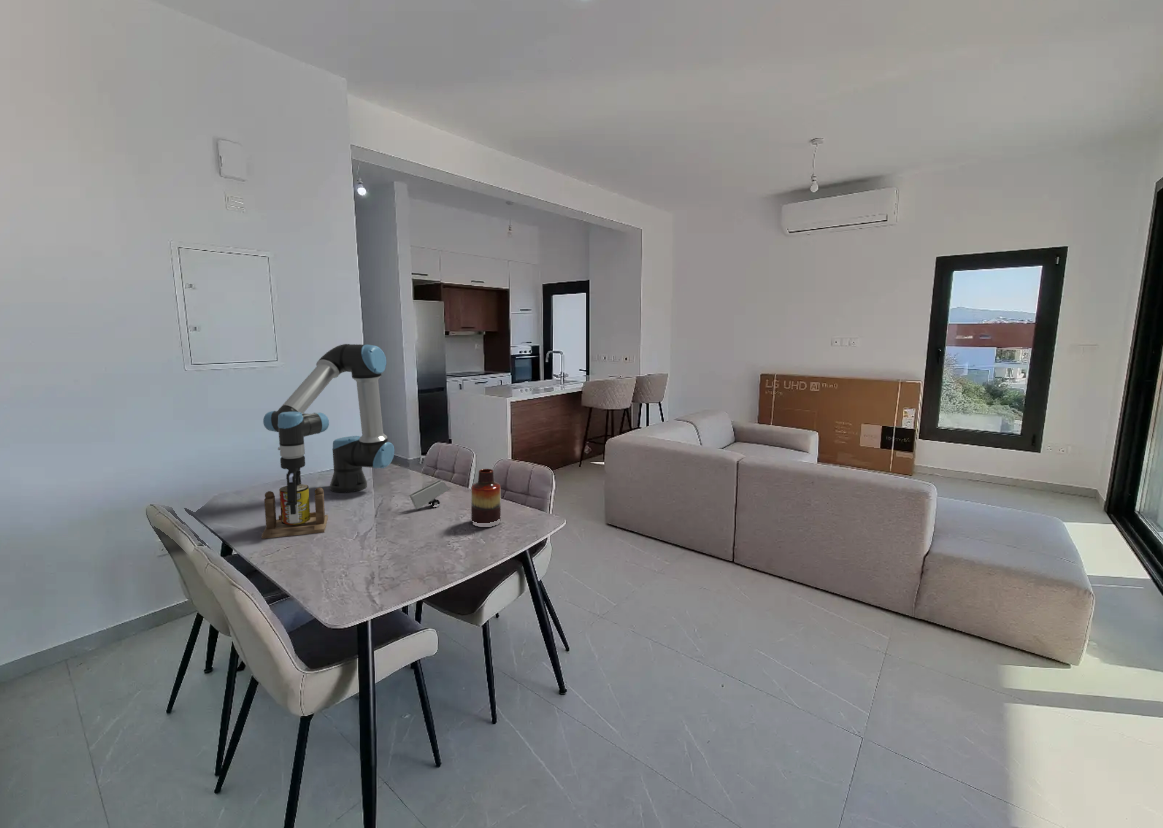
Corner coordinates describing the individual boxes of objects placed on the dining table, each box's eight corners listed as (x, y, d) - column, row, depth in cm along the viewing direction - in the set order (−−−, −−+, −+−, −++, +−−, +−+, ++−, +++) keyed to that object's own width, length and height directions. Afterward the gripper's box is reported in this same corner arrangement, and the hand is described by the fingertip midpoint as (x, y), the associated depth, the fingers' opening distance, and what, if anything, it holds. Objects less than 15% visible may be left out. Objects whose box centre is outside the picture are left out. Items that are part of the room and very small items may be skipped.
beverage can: (277, 520, 182) (275, 487, 181) (304, 514, 189) (303, 482, 187) (286, 526, 176) (284, 493, 175) (314, 520, 183) (312, 488, 181)
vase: (506, 523, 194) (506, 470, 190) (482, 530, 186) (482, 476, 183) (488, 515, 201) (489, 465, 198) (465, 522, 193) (465, 470, 190)
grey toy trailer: (421, 517, 204) (453, 497, 212) (412, 496, 200) (445, 477, 209) (417, 514, 207) (448, 494, 215) (408, 494, 203) (440, 475, 212)
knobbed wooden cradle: (327, 517, 194) (326, 481, 191) (324, 532, 180) (322, 493, 178) (270, 523, 186) (267, 485, 184) (261, 538, 173) (258, 498, 171)
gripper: (285, 449, 188) (288, 508, 191) (274, 464, 168) (278, 529, 171) (308, 448, 190) (311, 506, 194) (300, 462, 171) (304, 527, 174)
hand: (296, 517), depth 183 cm, fingers closed on beverage can, 9 cm apart
